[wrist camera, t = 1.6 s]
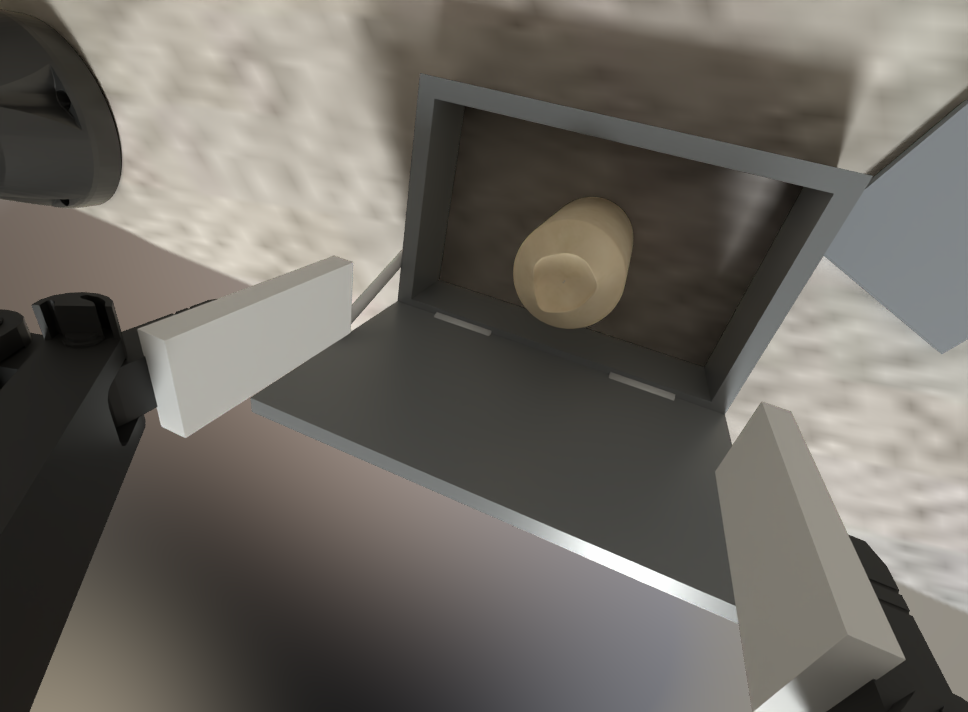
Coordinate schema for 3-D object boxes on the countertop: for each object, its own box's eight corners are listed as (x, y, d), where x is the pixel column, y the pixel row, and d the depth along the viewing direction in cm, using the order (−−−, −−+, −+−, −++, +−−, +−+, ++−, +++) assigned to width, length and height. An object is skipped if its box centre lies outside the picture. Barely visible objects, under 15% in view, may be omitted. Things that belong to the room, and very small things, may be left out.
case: (416, 290, 34) (238, 409, 20) (442, 78, 27) (188, 17, 12) (709, 390, 30) (758, 637, 15) (836, 168, 23) (1169, 238, 8)
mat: (802, 237, 24) (805, 239, 24) (964, 100, 20) (973, 99, 19) (936, 349, 25) (941, 354, 24) (1126, 238, 20) (1138, 241, 20)
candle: (588, 297, 30) (562, 361, 22) (531, 241, 30) (482, 284, 21) (653, 239, 27) (651, 287, 19) (590, 176, 27) (560, 197, 18)
